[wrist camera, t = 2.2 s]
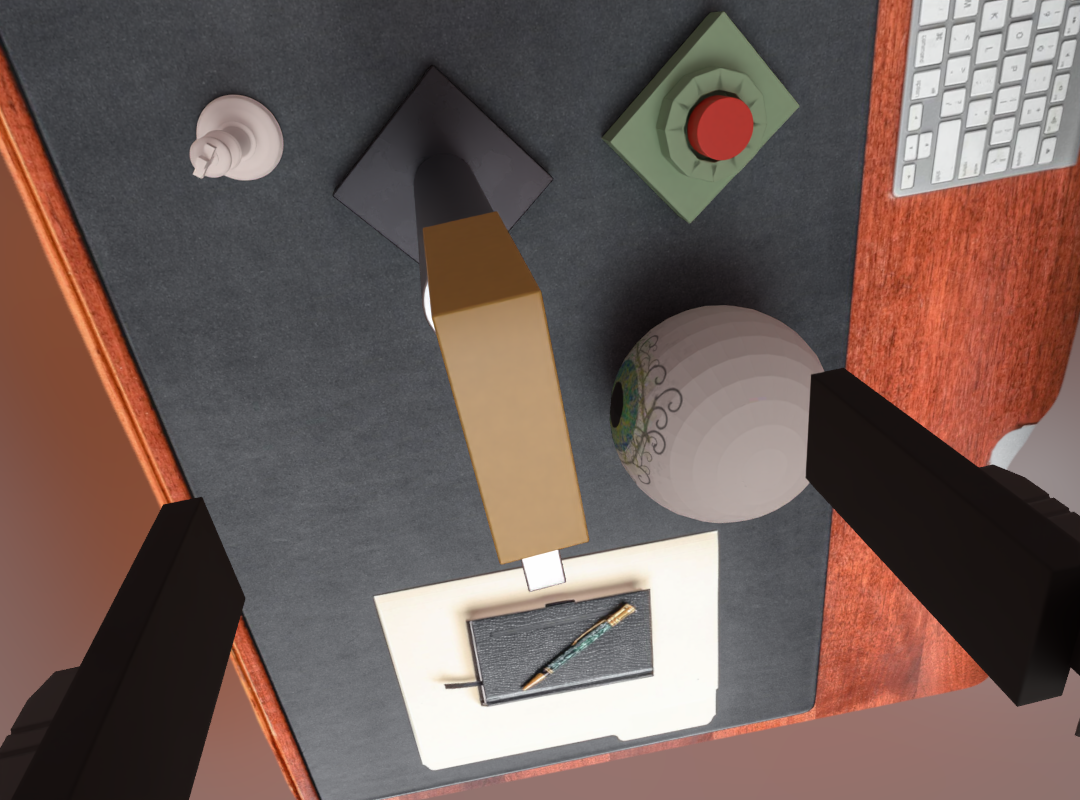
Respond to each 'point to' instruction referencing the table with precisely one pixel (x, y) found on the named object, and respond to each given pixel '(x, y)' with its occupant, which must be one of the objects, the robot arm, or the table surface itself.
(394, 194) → the faucet body
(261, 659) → the table surface
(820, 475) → the robot arm
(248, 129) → the chess piece
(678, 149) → the button box
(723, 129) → the button
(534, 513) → the tap handle
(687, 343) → the decorative object
